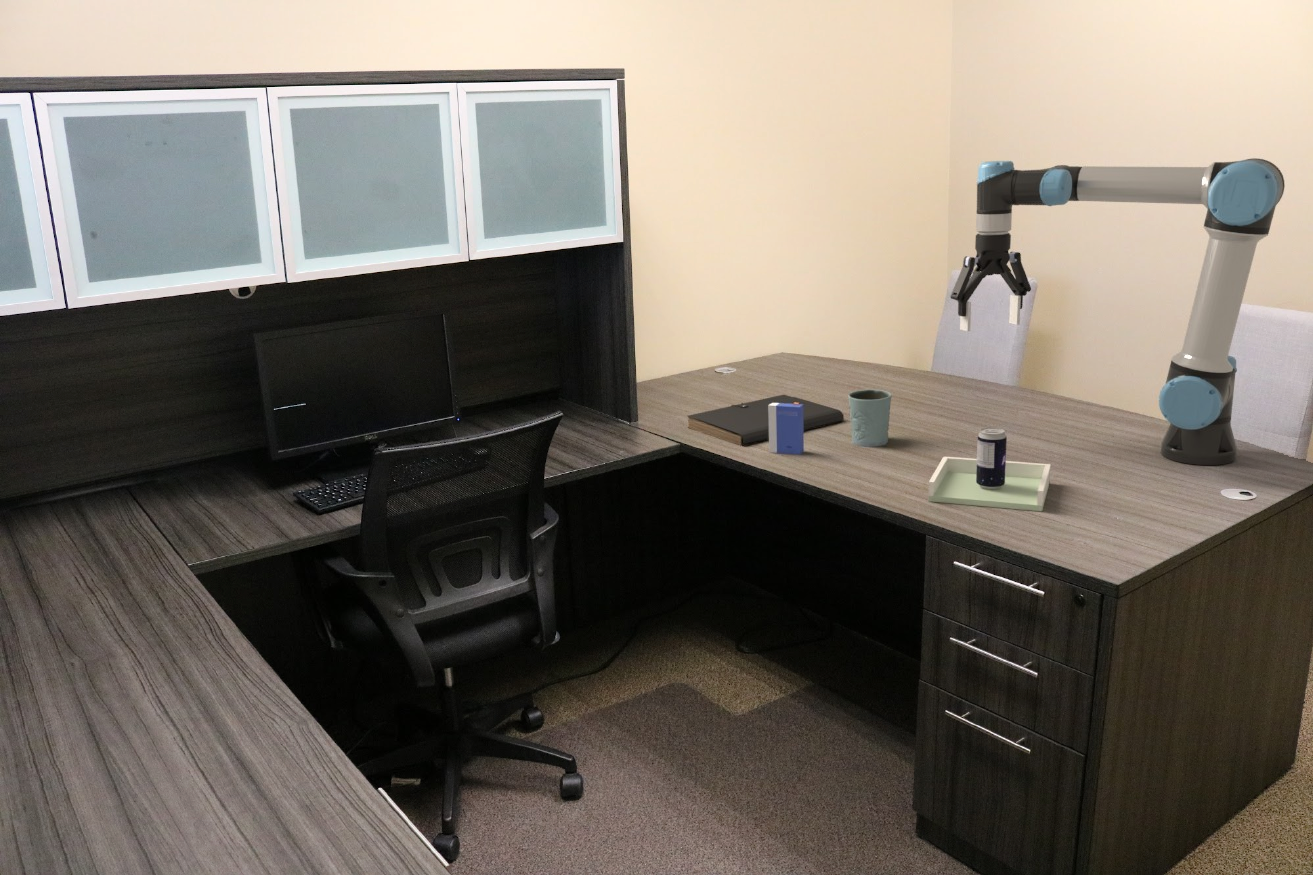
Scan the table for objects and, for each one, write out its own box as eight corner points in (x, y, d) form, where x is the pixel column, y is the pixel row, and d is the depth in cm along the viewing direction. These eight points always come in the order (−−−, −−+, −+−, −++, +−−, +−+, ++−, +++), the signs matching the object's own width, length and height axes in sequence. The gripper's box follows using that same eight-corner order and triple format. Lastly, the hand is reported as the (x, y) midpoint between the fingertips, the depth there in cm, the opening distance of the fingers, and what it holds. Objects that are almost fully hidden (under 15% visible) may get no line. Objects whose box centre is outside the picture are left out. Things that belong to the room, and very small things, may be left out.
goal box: (1049, 483, 229) (1050, 464, 228) (1042, 511, 213) (1043, 491, 212) (943, 474, 238) (943, 456, 237) (928, 501, 222) (928, 481, 221)
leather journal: (783, 393, 302) (843, 410, 282) (783, 407, 303) (843, 425, 283) (686, 414, 284) (743, 434, 265) (686, 429, 286) (743, 450, 266)
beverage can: (1006, 491, 222) (1008, 434, 219) (977, 490, 223) (979, 434, 220) (1003, 482, 227) (1005, 427, 224) (975, 481, 229) (976, 426, 225)
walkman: (803, 451, 260) (803, 402, 256) (800, 454, 257) (799, 405, 254) (772, 449, 263) (771, 401, 260) (768, 452, 260) (767, 403, 257)
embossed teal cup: (892, 437, 268) (892, 389, 265) (889, 448, 259) (889, 399, 255) (850, 435, 271) (850, 388, 267) (846, 447, 261) (846, 398, 258)
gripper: (1027, 227, 250) (1023, 318, 255) (936, 236, 241) (933, 330, 247) (1050, 229, 243) (1045, 323, 249) (956, 238, 234) (954, 335, 240)
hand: (989, 327), depth 248 cm, fingers open, 13 cm apart
